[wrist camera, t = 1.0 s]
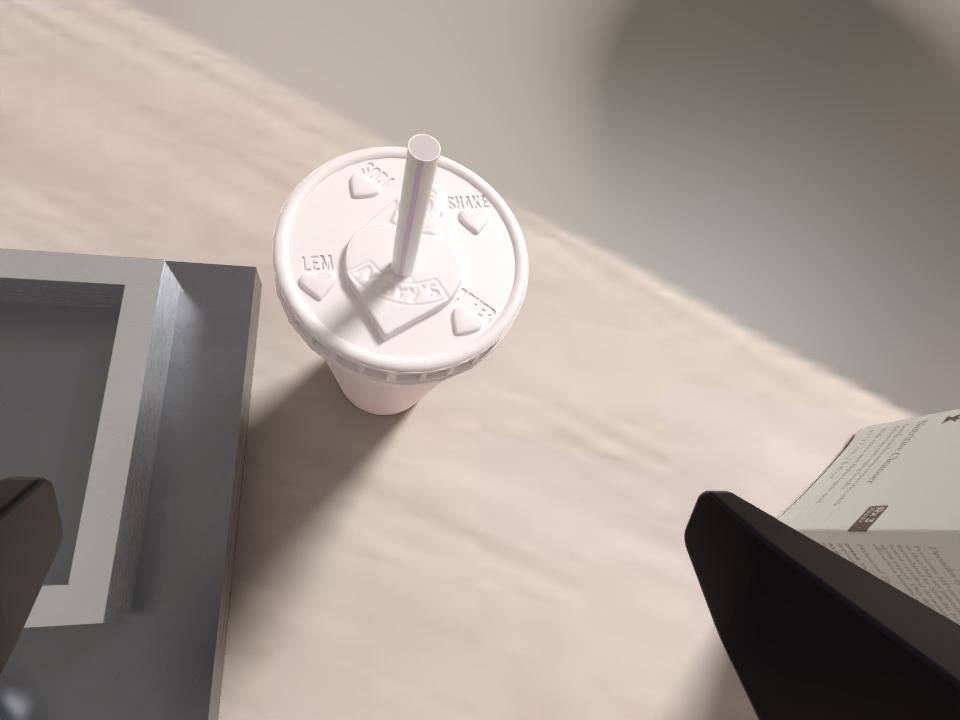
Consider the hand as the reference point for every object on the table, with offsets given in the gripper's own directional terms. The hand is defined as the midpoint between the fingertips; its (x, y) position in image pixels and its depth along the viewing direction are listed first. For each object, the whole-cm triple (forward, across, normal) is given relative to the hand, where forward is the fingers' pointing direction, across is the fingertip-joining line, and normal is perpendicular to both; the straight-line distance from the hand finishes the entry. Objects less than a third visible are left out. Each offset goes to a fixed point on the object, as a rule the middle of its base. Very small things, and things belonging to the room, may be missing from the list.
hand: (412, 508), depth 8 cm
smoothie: (+14, 0, +5) cm, 15 cm away
